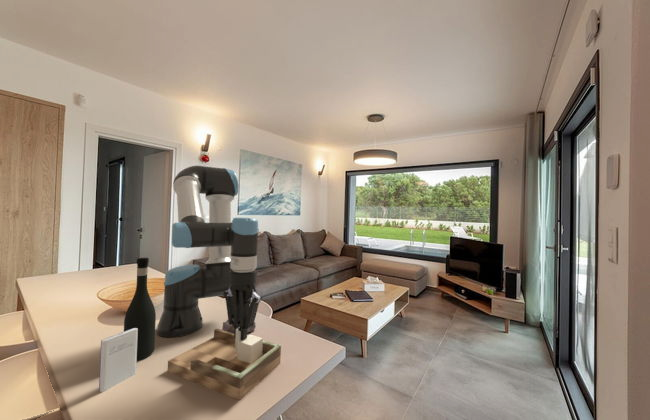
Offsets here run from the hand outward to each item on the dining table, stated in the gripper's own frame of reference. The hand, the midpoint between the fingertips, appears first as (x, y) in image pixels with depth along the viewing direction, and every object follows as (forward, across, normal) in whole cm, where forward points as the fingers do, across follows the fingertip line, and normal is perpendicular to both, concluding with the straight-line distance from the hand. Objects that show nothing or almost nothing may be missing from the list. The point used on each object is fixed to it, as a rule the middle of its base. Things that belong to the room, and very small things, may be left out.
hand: (239, 350), depth 77 cm
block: (+2, +3, +1) cm, 4 cm away
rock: (+6, -12, +16) cm, 21 cm away
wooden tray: (+5, -3, -3) cm, 6 cm away
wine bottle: (+5, -31, -10) cm, 33 cm away
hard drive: (+5, -22, -20) cm, 30 cm away
